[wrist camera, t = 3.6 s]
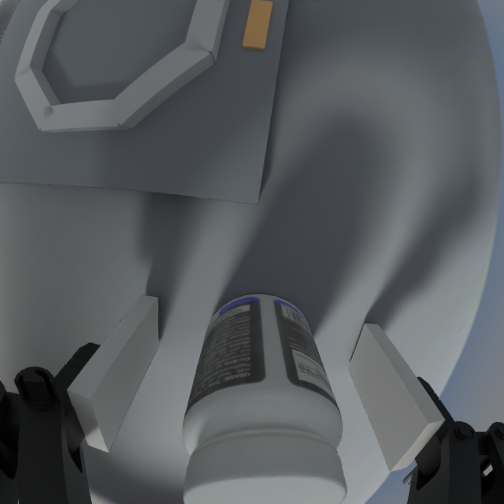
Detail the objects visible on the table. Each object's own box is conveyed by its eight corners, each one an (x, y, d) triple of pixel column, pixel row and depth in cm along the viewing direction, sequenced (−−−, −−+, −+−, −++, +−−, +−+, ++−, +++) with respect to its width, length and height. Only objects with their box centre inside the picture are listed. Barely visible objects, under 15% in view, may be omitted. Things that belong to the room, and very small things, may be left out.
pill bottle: (208, 373, 13) (178, 525, 5) (206, 287, 12) (145, 456, 4) (302, 377, 13) (333, 526, 5) (317, 293, 12) (394, 455, 4)
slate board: (257, 201, 11) (258, 208, 9) (-14, 180, 10) (-39, 185, 8) (296, -53, 7) (301, -77, 5) (42, -19, 7) (25, -30, 5)
